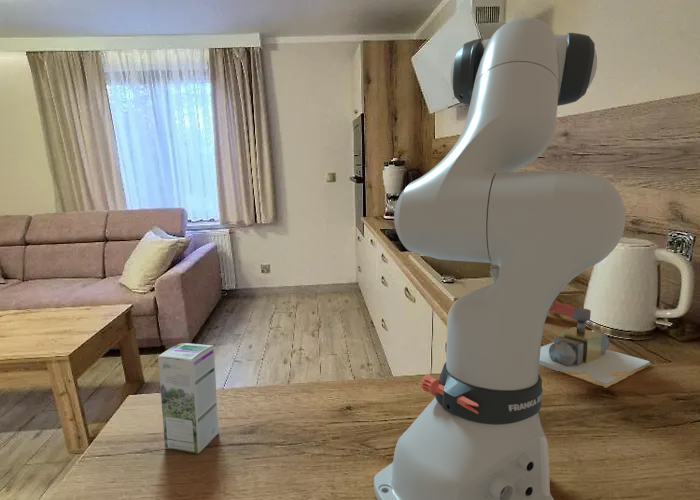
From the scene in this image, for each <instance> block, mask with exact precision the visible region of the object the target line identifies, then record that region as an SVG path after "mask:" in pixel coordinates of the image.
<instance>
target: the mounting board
mask: <svg viewBox="0 0 700 500" xmlns="http://www.w3.org/2000/svg"><path fill="white" fill-rule="evenodd" d="M552 344H554V342H550V343H548V344H545V345H541V349H540V359H539V366H543V367H545V368H547V369H550V370H554V371H556V372H558V371H570V372H575V373H583V372H582V371H586V372H585V374H587V375H588V376H589V377H588V378H591V379H593V380H595V381H598V382H600V383H603V384H605V385H607V384H609V383H610V382H612V381H614V380H616V379H617V378H619V377H621V376H623V375H621V376H610V375H609V373H612V372H624V371H628V372H627V373H629V372H631V371H633V370H635V369H638V368H640V367H643V366H647V365H650V366H651V361H650V360H646V359H642V358H640V357H635V356H632V355H629V354H625V353H622V352H621V353H620V352H618V351H614V350H611V349H609V348H608V349H607V350H606V351H605V354H604V355H602V356H600V358H598V359H596V360H593V361H591V362H589V363H583V362H582V364H581V365H578V366H576V365H570V366H565V365H562V364H559V363H556V362H553V361H552V360H551V358H550V356H549V348H550V346H551V345H552Z"/></svg>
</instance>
